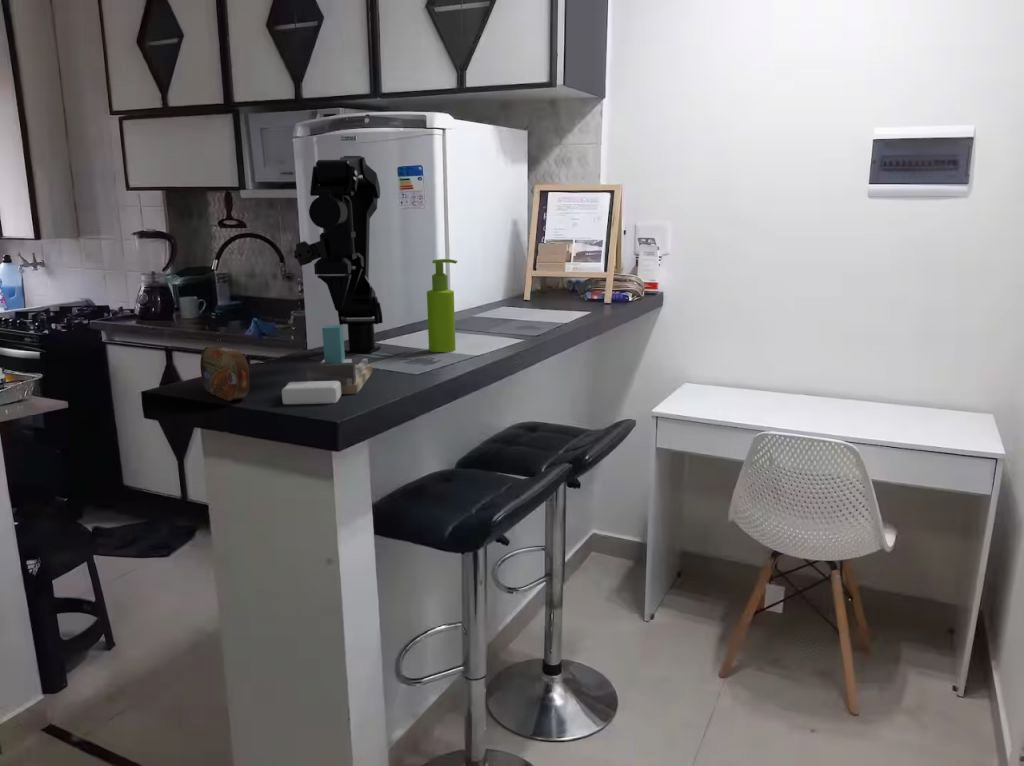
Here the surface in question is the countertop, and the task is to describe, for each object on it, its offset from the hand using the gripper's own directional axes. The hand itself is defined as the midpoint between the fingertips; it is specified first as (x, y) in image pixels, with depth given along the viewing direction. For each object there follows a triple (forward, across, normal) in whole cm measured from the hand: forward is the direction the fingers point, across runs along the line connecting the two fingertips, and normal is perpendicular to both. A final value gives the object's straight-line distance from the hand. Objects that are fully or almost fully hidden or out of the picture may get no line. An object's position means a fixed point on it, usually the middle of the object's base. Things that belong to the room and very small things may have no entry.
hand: (343, 307), depth 150 cm
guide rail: (+12, +14, +1) cm, 19 cm away
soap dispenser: (+12, -16, +19) cm, 27 cm away
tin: (+12, +22, -16) cm, 30 cm away
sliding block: (+10, +18, +1) cm, 21 cm away
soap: (+13, +26, -1) cm, 29 cm away
